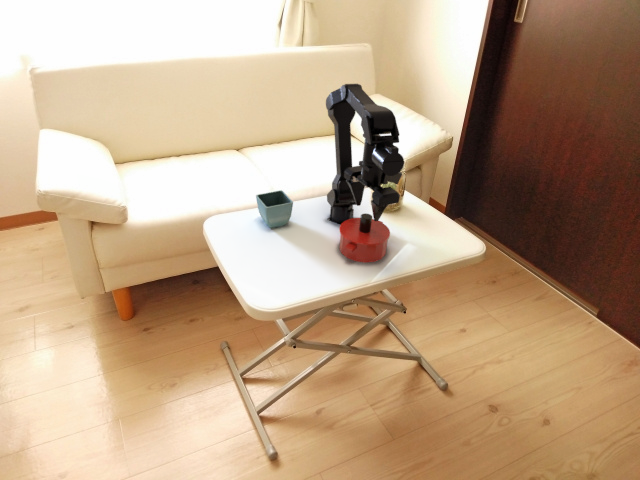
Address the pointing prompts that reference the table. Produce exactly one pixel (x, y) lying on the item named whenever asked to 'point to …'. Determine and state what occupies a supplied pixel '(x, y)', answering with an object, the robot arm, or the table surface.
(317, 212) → the table surface
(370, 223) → the lid
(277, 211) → the flower pot
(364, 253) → the pot
